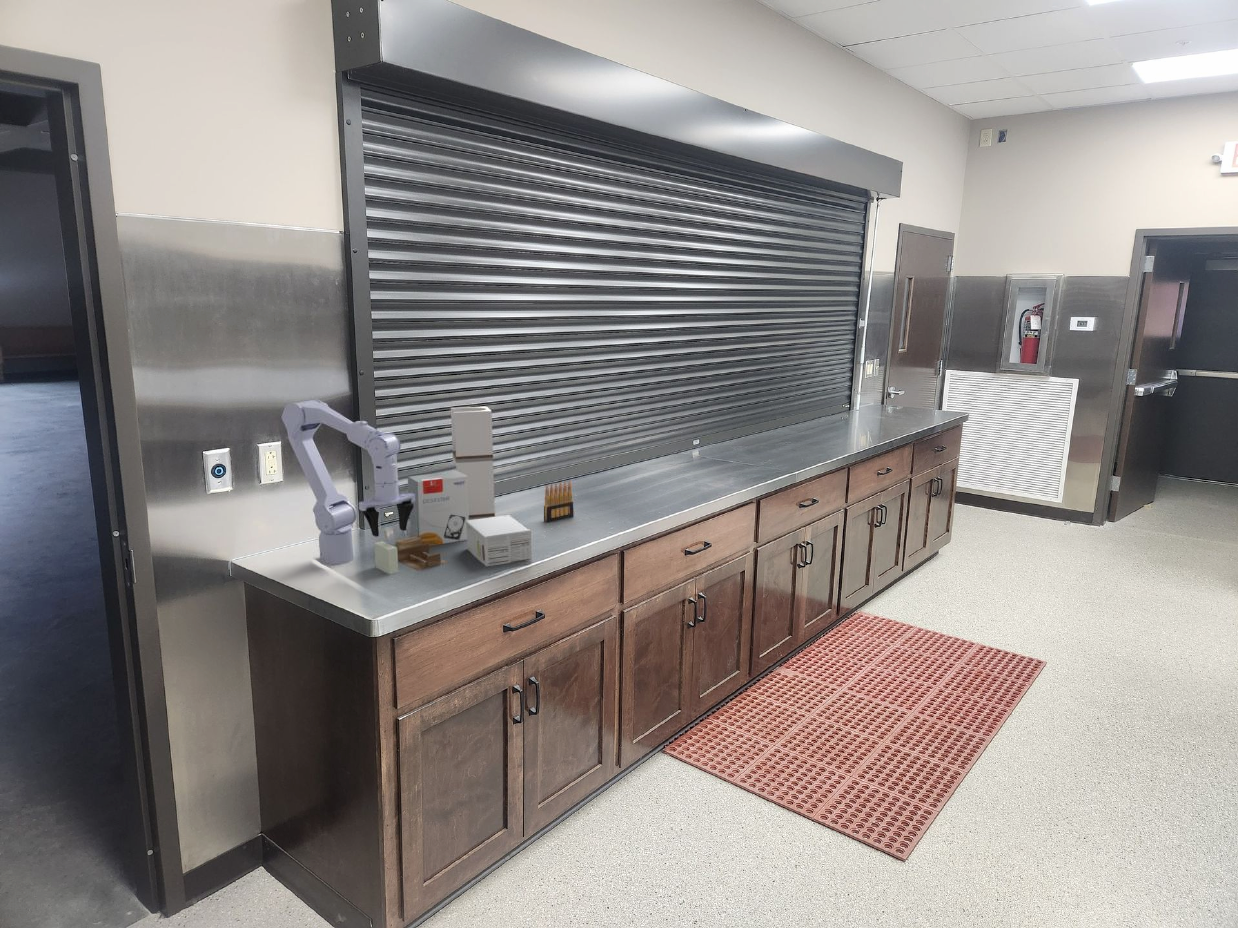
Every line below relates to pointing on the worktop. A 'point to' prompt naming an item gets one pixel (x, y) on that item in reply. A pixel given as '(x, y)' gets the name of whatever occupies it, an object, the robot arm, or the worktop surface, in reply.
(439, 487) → the hard drive box
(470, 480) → the tall banded white pillar
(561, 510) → the ammunition clip
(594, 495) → the worktop surface
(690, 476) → the worktop surface
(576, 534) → the worktop surface
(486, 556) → the supplement box
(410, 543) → the offcut upper
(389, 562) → the panel
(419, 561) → the rack
